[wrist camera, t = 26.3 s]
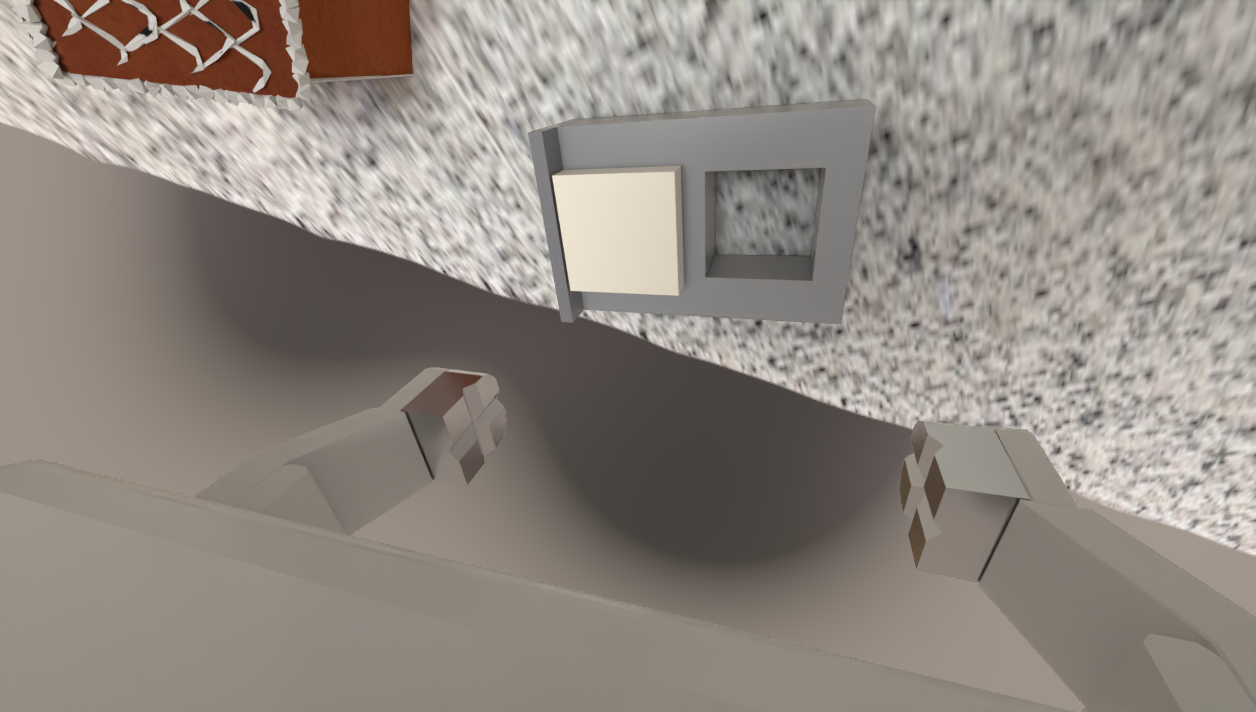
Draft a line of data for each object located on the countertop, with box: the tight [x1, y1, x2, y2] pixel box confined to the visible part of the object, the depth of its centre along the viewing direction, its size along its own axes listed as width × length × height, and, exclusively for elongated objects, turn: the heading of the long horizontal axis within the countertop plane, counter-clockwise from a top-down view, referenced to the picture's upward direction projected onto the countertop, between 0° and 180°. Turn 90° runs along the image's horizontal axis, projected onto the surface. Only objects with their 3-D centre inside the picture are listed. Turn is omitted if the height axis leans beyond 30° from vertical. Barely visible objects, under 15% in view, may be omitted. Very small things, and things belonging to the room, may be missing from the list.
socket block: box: [528, 99, 876, 324], centre depth 35 cm, size 21×14×7 cm, turn 95°
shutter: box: [552, 166, 684, 296], centre depth 34 cm, size 8×8×2 cm
